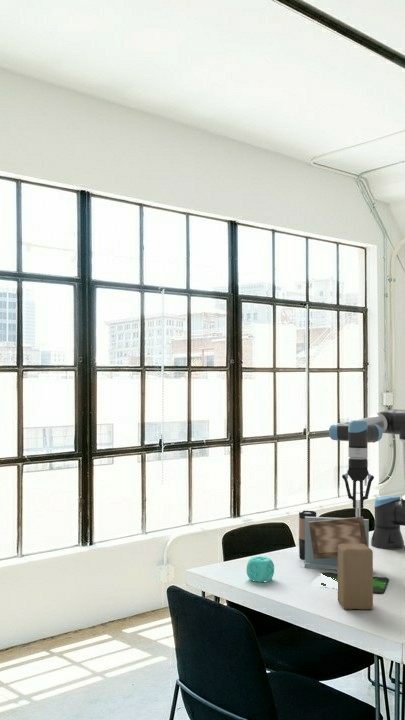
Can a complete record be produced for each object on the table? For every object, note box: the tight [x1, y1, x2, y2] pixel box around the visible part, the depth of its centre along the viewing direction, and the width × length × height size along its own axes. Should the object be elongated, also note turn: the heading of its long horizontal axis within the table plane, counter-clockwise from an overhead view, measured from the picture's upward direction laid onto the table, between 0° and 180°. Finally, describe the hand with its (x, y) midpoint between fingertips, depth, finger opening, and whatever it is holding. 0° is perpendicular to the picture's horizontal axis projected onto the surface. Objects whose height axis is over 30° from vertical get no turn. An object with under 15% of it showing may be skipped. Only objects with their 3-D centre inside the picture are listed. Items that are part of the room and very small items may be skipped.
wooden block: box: [337, 544, 374, 610], centre depth 231 cm, size 10×10×20 cm
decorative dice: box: [246, 556, 275, 583], centre depth 262 cm, size 8×8×8 cm
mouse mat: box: [321, 571, 390, 595], centre depth 259 cm, size 27×22×1 cm
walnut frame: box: [309, 516, 367, 559], centre depth 277 cm, size 22×2×15 cm, turn 79°
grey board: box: [303, 516, 370, 570], centre depth 283 cm, size 26×8×20 cm, turn 79°
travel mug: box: [298, 510, 317, 561], centre depth 297 cm, size 8×8×20 cm
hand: (358, 516), depth 276 cm, fingers closed
